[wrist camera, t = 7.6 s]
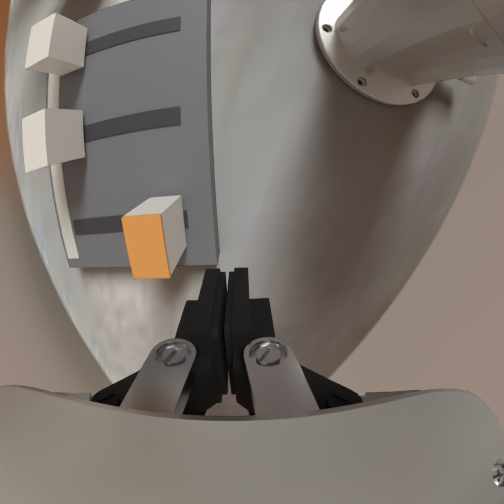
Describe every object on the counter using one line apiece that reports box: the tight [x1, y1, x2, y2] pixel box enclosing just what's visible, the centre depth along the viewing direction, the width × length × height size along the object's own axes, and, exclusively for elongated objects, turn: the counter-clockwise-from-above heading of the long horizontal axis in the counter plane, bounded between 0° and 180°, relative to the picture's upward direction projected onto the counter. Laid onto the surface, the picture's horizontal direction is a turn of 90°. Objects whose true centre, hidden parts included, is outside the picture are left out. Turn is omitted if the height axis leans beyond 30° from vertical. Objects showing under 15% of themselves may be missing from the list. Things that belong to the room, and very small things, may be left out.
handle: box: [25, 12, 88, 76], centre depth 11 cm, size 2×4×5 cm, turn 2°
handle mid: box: [22, 108, 85, 173], centre depth 15 cm, size 2×4×5 cm, turn 2°
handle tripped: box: [121, 195, 187, 278], centre depth 18 cm, size 2×4×5 cm, turn 2°
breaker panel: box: [46, 0, 220, 267], centre depth 18 cm, size 15×24×3 cm, turn 2°
